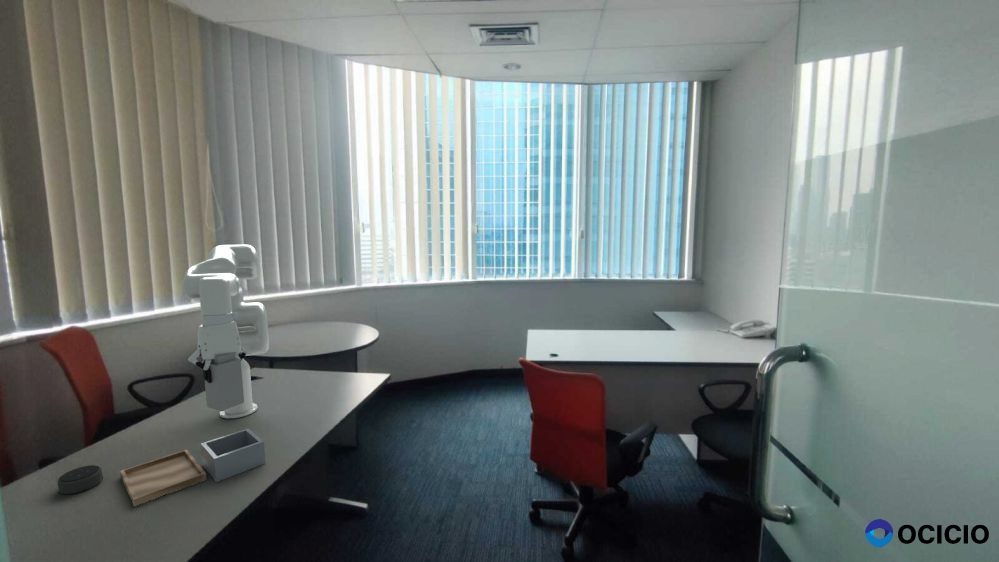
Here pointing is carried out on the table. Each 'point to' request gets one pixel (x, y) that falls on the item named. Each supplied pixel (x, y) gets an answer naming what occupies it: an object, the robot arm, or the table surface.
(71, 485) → the smart speaker
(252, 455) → the grey storage bin
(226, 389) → the perfume bottle
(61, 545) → the table surface
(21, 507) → the table surface
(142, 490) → the tray
